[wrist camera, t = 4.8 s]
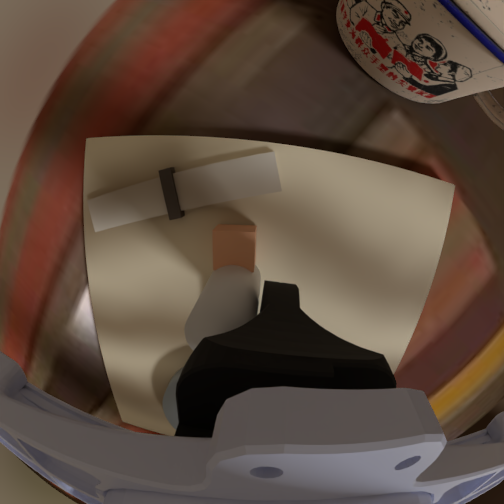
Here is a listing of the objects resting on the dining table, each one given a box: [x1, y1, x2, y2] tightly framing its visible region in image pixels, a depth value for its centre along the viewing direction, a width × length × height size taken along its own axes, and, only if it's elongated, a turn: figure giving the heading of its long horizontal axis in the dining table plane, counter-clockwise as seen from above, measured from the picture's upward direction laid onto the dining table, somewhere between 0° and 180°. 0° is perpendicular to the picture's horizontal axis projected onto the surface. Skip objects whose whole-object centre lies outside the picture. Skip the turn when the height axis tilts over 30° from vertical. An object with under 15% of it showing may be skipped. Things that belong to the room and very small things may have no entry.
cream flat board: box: [83, 135, 455, 436], centre depth 15 cm, size 23×20×2 cm
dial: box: [163, 224, 261, 430], centre depth 13 cm, size 18×10×5 cm, turn 179°
